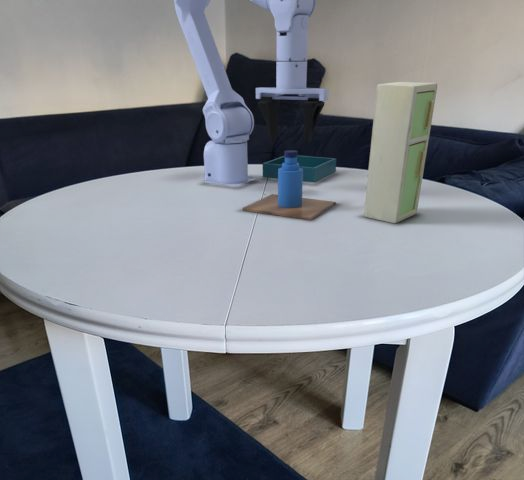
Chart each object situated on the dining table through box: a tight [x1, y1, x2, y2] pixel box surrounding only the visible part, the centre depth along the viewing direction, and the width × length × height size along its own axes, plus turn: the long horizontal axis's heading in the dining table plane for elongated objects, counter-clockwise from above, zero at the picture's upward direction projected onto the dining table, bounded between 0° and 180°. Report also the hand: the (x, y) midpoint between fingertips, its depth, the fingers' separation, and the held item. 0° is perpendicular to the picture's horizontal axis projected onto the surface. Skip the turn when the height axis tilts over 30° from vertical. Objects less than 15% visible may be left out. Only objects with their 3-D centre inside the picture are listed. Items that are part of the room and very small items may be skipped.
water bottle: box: [277, 149, 304, 208], centre depth 90 cm, size 5×5×10 cm
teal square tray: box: [262, 155, 337, 183], centre depth 115 cm, size 13×13×4 cm
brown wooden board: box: [242, 193, 336, 221], centre depth 93 cm, size 14×12×1 cm
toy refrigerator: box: [363, 81, 438, 224], centre depth 82 cm, size 8×7×21 cm
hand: (290, 140), depth 97 cm, fingers open, 7 cm apart
